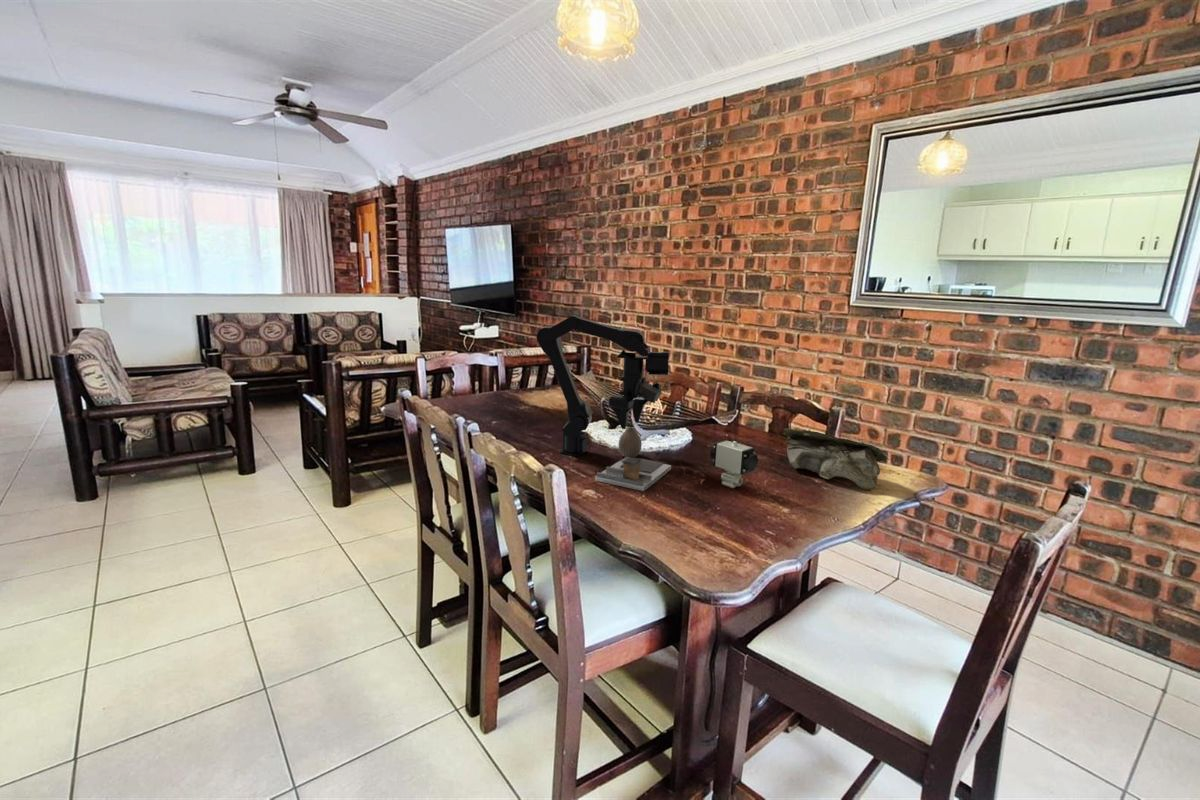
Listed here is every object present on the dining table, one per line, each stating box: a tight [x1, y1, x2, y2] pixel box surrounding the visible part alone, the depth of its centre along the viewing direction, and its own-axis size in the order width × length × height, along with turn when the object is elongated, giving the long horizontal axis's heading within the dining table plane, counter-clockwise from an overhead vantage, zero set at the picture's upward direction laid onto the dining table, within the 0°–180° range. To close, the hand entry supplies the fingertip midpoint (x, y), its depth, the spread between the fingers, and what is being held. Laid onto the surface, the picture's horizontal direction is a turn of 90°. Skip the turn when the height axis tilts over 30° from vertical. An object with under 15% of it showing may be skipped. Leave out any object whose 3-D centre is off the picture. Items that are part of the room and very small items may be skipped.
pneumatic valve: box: [709, 439, 759, 489], centre depth 140 cm, size 6×12×12 cm, turn 42°
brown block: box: [623, 457, 640, 480], centre depth 140 cm, size 3×4×5 cm
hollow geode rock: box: [782, 428, 890, 490], centre depth 149 cm, size 28×13×15 cm
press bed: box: [594, 457, 672, 492], centre depth 147 cm, size 14×19×2 cm
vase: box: [618, 426, 643, 458], centre depth 162 cm, size 7×7×9 cm
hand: (630, 425), depth 161 cm, fingers open, 9 cm apart
